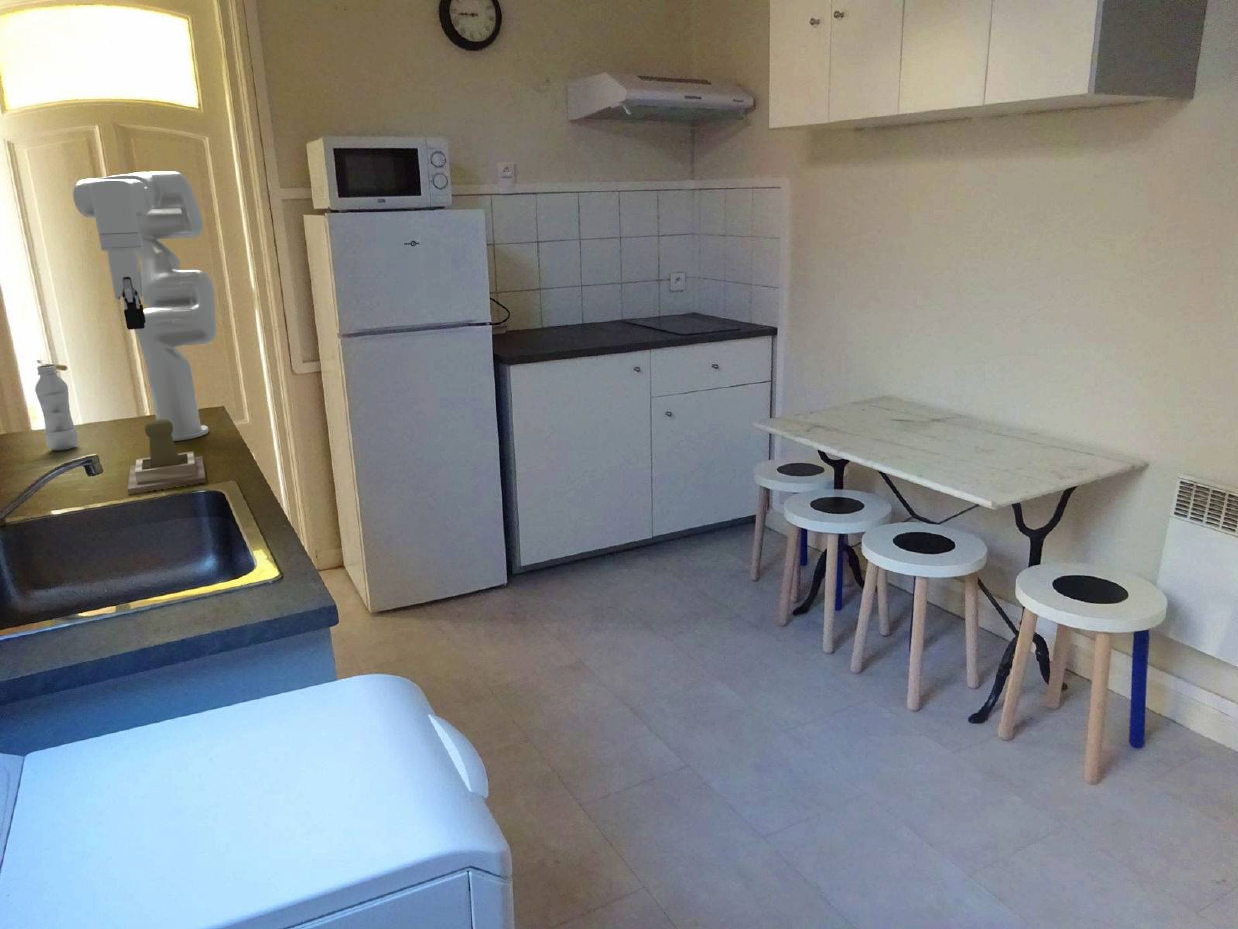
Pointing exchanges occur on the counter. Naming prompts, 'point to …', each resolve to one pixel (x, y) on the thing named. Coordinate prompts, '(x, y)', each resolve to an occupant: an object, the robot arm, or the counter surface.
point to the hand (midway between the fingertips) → (136, 326)
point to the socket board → (166, 474)
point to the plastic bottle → (55, 409)
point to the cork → (161, 444)
